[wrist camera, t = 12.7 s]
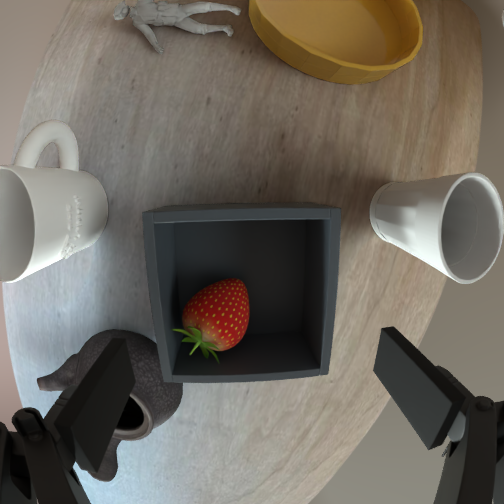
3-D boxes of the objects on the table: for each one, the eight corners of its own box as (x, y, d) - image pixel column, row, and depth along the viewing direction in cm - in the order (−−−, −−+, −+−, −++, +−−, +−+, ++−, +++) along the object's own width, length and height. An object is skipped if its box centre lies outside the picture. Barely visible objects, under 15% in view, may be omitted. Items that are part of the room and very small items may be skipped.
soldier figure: (224, 62, 24) (103, 56, 20) (218, 48, 27) (111, 42, 22) (248, -5, 18) (113, -18, 14) (238, -11, 20) (122, -22, 16)
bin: (312, 202, 27) (341, 208, 20) (307, 334, 30) (328, 374, 22) (165, 205, 26) (141, 212, 19) (177, 339, 29) (163, 382, 22)
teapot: (61, 303, 27) (11, 344, 17) (191, 339, 29) (177, 401, 19) (74, 418, 31) (48, 464, 21) (176, 448, 32) (167, 504, 23)
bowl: (387, -17, 21) (402, -33, 17) (412, 98, 25) (436, 88, 21) (247, -41, 20) (249, -64, 16) (248, 77, 24) (252, 57, 20)
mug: (125, 134, 24) (61, 103, 13) (107, 255, 26) (40, 296, 15) (59, 130, 23) (-17, 109, 12) (44, 241, 26) (-31, 269, 14)
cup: (353, 184, 27) (428, 185, 15) (415, 167, 27) (496, 163, 15) (371, 260, 29) (442, 300, 17) (429, 237, 29) (506, 262, 17)
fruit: (266, 275, 24) (213, 356, 19) (266, 310, 27) (223, 381, 23) (211, 254, 26) (154, 323, 21) (218, 290, 29) (172, 352, 25)
